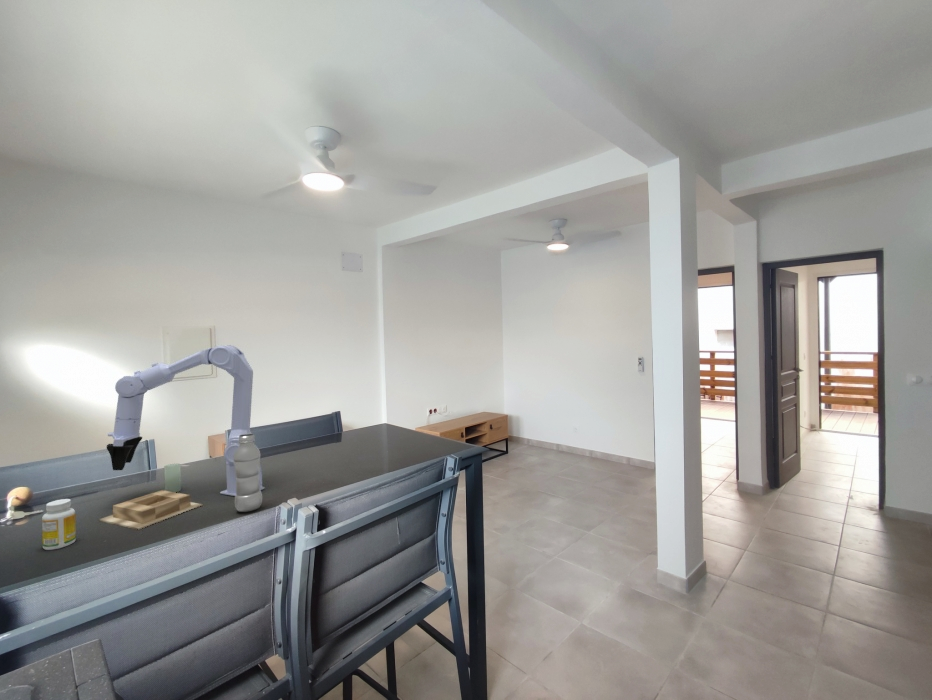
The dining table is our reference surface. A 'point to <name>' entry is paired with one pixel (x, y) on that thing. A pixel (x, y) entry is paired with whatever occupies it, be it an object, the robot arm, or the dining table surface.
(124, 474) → the dining table surface
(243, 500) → the plastic bottle
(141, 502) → the socket block
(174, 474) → the dowel
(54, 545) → the supplement bottle
